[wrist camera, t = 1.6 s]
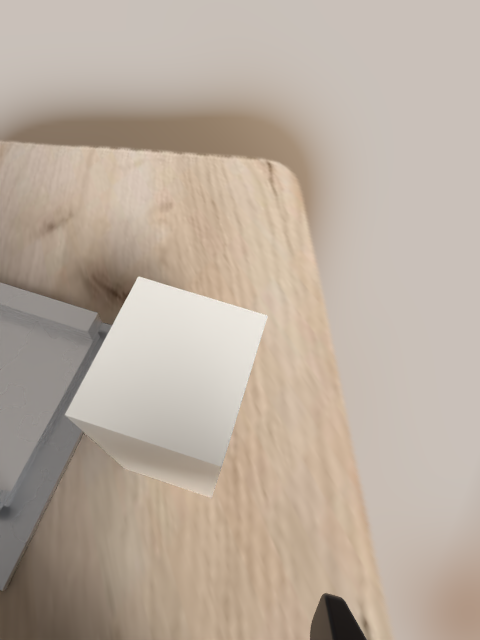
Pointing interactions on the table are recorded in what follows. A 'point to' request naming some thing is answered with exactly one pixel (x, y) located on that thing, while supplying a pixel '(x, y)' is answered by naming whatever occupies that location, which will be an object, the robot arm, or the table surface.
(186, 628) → the table surface
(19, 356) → the rail panel
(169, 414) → the block
